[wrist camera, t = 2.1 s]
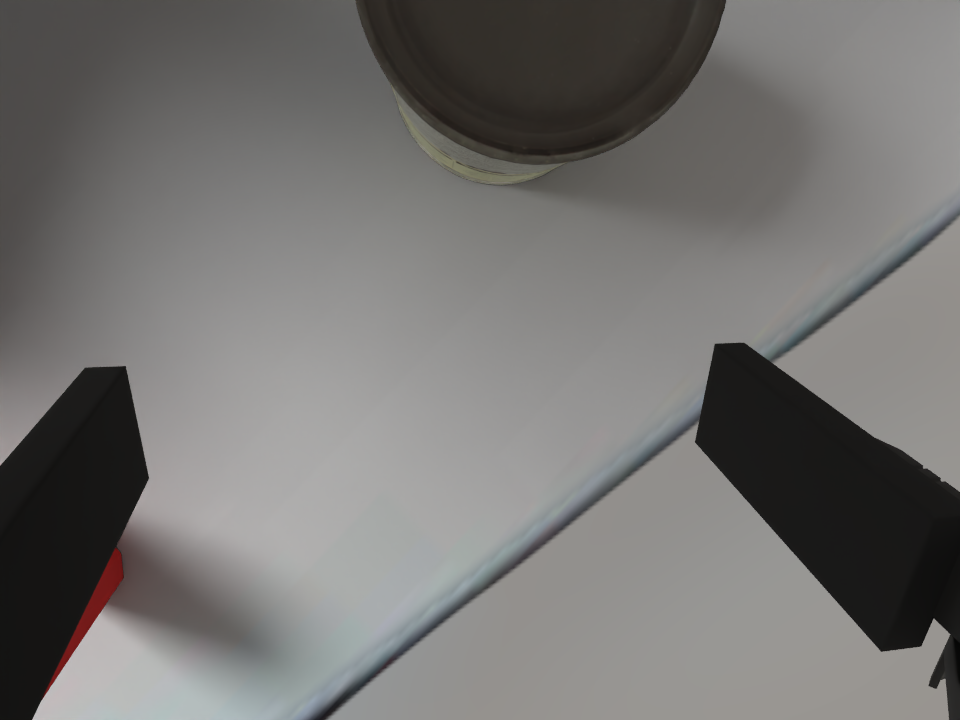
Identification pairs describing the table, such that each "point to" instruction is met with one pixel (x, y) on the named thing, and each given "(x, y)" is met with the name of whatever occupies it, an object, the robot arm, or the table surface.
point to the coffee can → (534, 75)
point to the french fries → (94, 606)
